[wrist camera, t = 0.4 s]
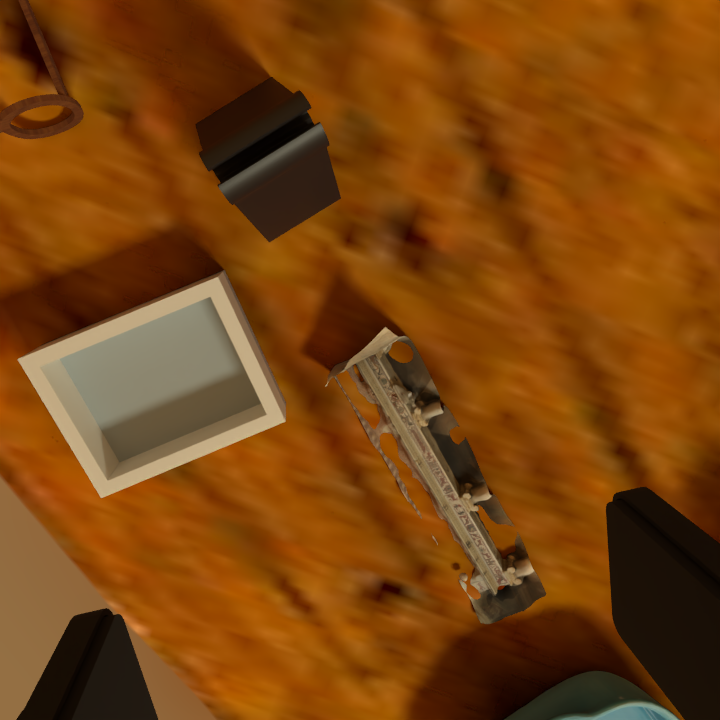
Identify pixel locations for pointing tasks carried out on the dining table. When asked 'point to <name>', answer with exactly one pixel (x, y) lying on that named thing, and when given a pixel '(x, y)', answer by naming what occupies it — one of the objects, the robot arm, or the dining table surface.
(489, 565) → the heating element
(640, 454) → the dining table surface
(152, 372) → the cream rectangular tray
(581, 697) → the casserole dish
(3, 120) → the glasses
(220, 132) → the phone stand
